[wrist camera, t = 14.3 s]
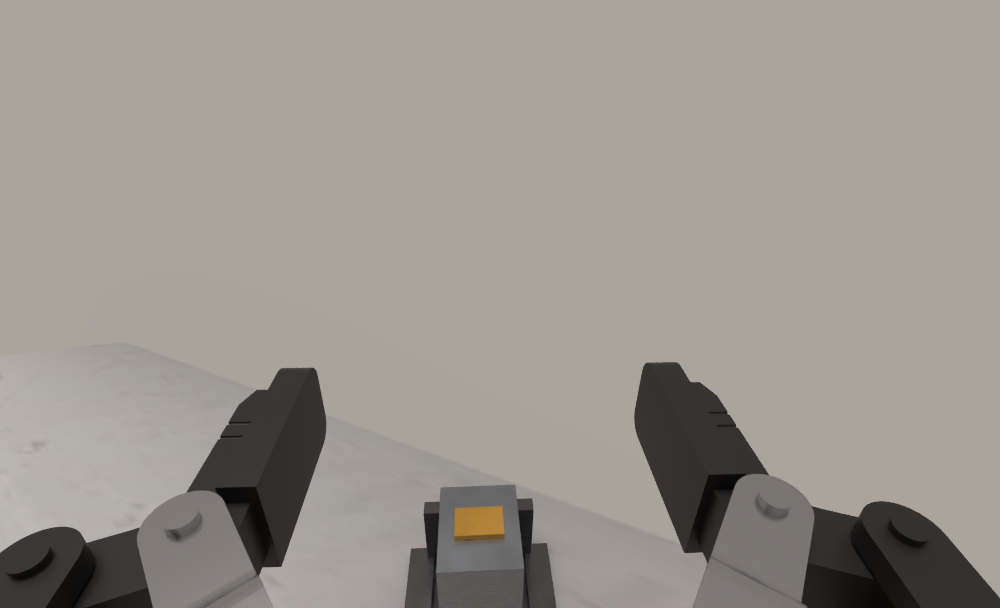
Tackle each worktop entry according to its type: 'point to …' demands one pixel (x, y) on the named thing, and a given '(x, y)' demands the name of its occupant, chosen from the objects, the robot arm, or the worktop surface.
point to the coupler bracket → (535, 556)
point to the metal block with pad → (479, 548)
